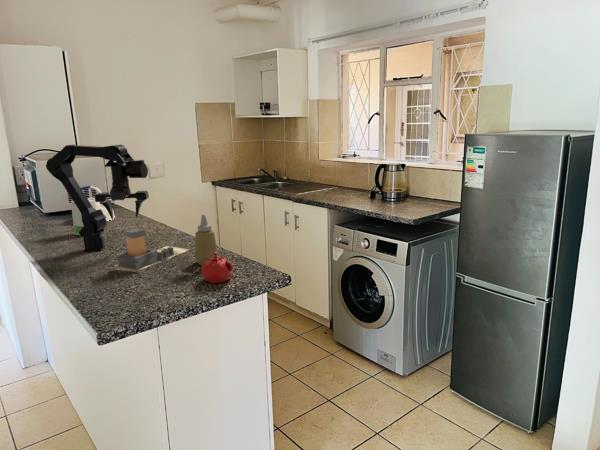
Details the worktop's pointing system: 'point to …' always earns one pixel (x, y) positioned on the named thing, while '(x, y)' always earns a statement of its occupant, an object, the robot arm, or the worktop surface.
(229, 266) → the pomegranate
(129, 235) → the plug
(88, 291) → the worktop surface
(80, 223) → the skincare box
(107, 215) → the kettle
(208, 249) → the squeeze bottle
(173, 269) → the worktop surface
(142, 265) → the board
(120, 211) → the worktop surface
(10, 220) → the worktop surface
